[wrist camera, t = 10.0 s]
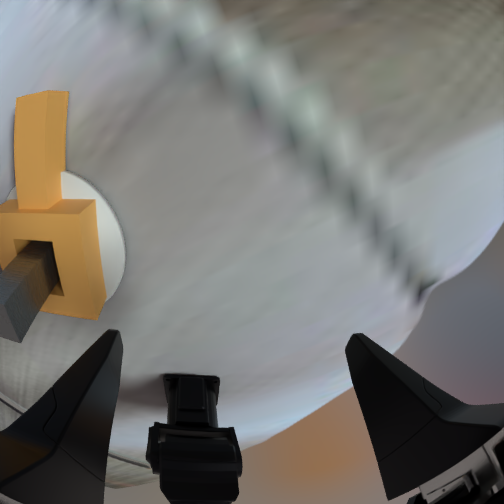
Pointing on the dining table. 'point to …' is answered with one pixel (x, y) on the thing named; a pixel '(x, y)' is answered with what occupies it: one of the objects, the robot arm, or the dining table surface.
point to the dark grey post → (26, 288)
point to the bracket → (60, 212)
